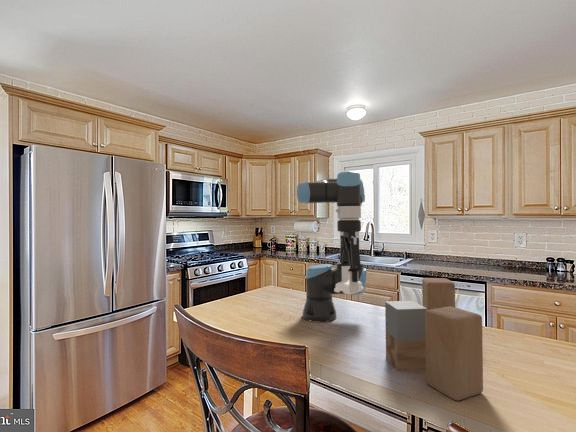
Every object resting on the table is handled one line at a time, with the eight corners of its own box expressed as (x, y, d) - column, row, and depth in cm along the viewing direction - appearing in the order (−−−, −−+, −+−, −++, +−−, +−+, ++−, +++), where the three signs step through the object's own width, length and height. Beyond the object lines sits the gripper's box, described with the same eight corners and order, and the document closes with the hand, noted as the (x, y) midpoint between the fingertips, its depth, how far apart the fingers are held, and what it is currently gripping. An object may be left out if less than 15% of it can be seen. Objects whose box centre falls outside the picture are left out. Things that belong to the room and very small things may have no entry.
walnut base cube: (385, 358, 103) (385, 329, 103) (413, 357, 104) (413, 328, 104) (397, 371, 94) (397, 340, 94) (427, 370, 95) (427, 339, 95)
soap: (350, 294, 100) (350, 285, 100) (332, 291, 105) (332, 282, 105) (365, 289, 107) (365, 280, 107) (347, 286, 112) (347, 278, 112)
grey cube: (385, 329, 103) (385, 301, 103) (413, 328, 104) (412, 300, 104) (397, 340, 94) (397, 309, 94) (427, 339, 95) (426, 308, 95)
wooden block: (456, 336, 121) (455, 282, 121) (427, 335, 123) (427, 282, 123) (448, 327, 130) (448, 278, 131) (422, 326, 132) (421, 277, 133)
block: (456, 403, 78) (455, 319, 78) (424, 383, 87) (423, 309, 87) (485, 393, 82) (483, 314, 82) (450, 376, 91) (449, 304, 91)
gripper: (330, 219, 116) (331, 281, 117) (346, 220, 95) (347, 297, 95) (351, 218, 117) (351, 281, 117) (371, 219, 95) (372, 296, 95)
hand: (349, 288), depth 106 cm, fingers closed on soap, 9 cm apart
